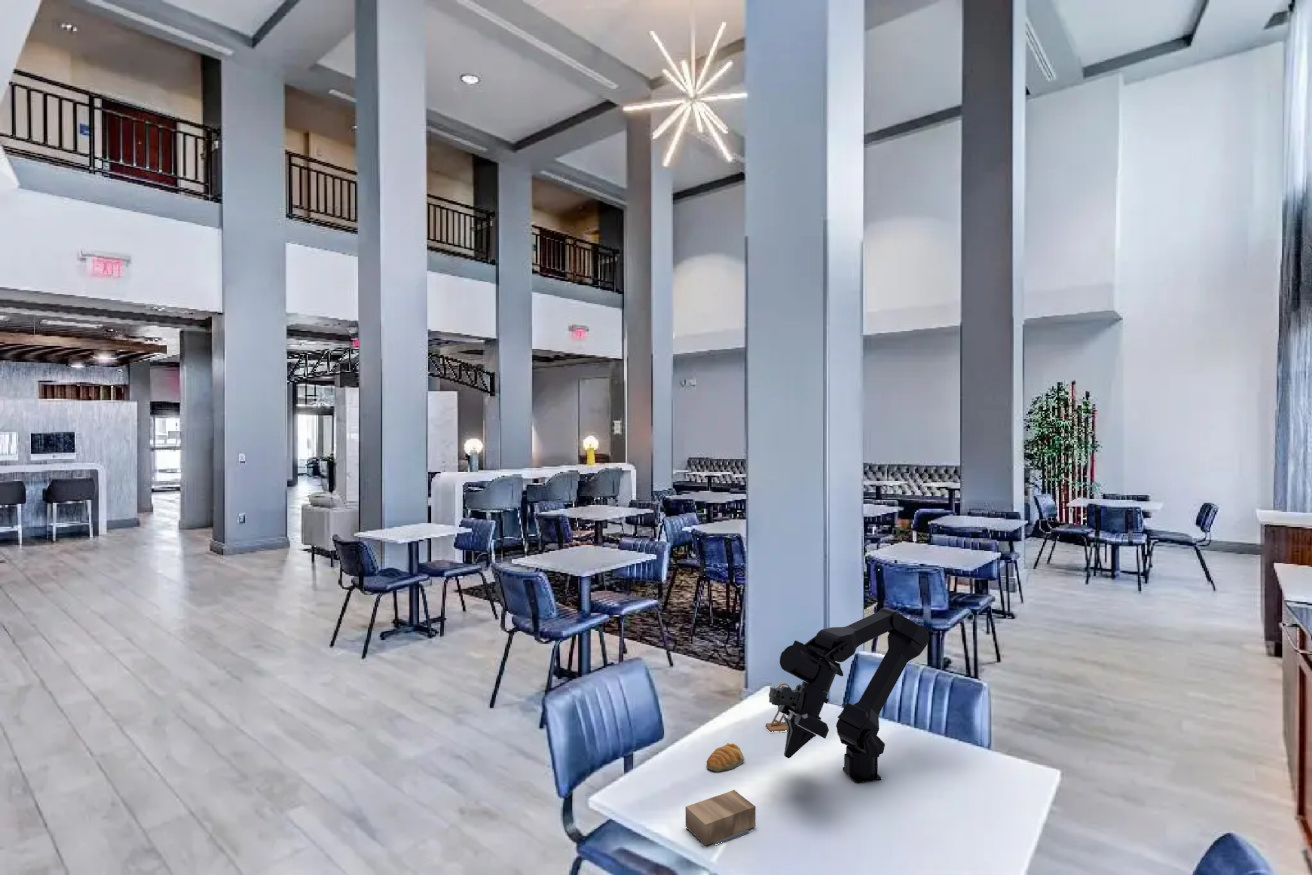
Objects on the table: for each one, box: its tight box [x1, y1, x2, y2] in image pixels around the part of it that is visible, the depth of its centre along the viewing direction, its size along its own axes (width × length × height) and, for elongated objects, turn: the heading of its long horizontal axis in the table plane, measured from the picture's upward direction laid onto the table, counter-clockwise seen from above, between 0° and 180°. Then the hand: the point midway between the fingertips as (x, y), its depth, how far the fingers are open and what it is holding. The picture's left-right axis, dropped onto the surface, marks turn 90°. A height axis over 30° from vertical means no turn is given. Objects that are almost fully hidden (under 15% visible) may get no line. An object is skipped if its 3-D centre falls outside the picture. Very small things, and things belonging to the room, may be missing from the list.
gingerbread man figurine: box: [765, 682, 791, 732], centre depth 178 cm, size 9×4×12 cm, turn 99°
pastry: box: [706, 743, 745, 773], centre depth 160 cm, size 9×7×4 cm
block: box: [685, 789, 757, 846], centre depth 134 cm, size 4×7×12 cm
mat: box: [712, 829, 750, 845], centre depth 134 cm, size 8×8×1 cm
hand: (786, 757), depth 143 cm, fingers closed
